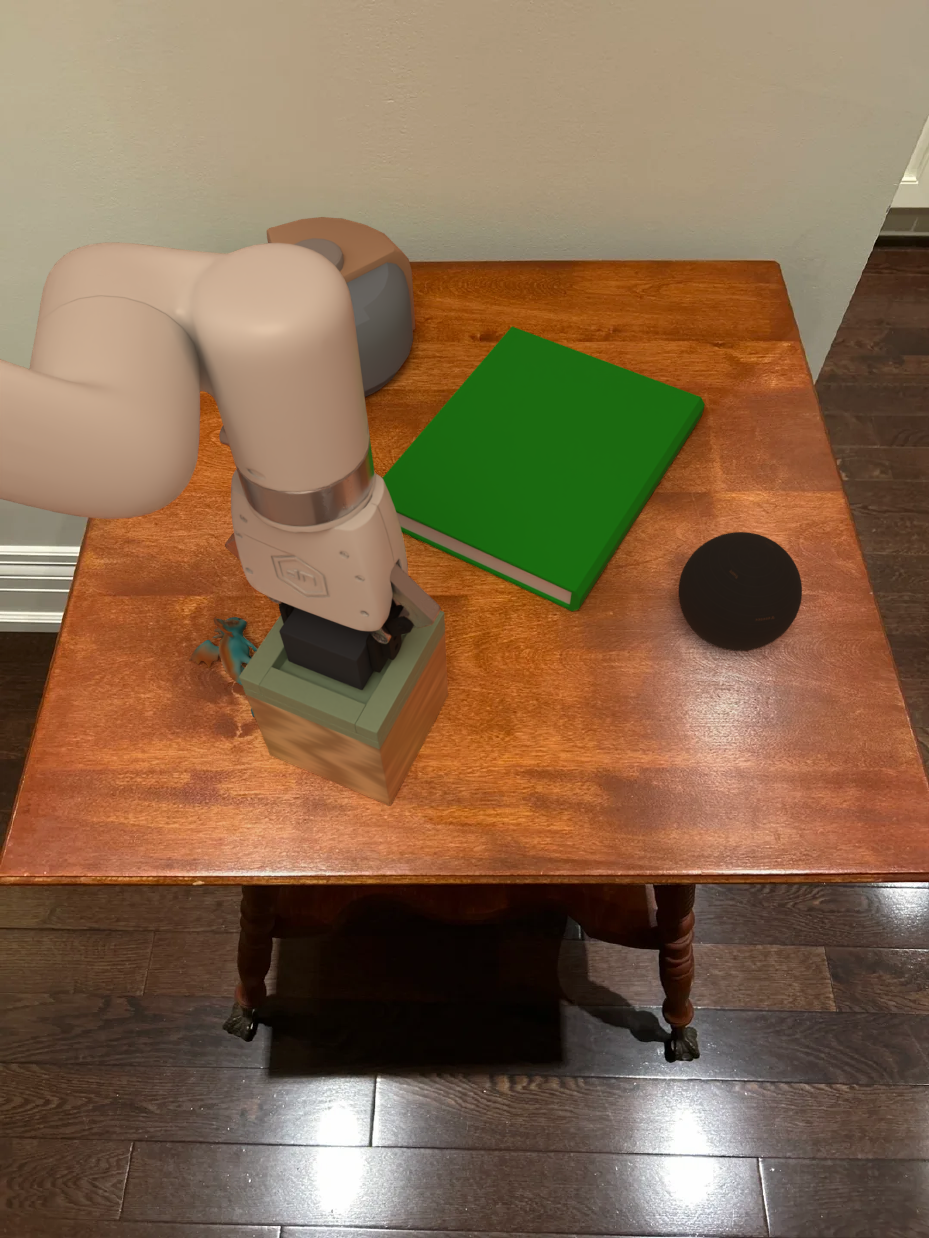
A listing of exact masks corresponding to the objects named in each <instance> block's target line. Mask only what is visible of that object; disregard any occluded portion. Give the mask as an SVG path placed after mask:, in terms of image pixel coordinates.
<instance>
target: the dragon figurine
mask: <svg viewBox="0 0 929 1238" xmlns="http://www.w3.org/2000/svg"><path fill="white" fill-rule="evenodd" d="M213 623H214V625H215V626H216V628H214V633H216V634H214V636H212V638H213V639H215V640H216V639H220V640H219V643H218V644H219V645H216V644H213V642H212V640H210V639H206V640H204V641H203V642H202V643H200V644H199V645H198V646H197V647H196V648H195V649H194V651H193V653H192V654H191V655H190V657H189V660H188V661H193V662H194V663H195V664H196V665H197V666H199V665H200V663H201V662H202V661H203V662H204V663H205V664H206V665H207V667H208V668H209V669H211V665H212V662H214V661H216V662H218V661H219V658H220V660H221V665H222V667H223V669H224V672H225V673H226V674H227V675H228V676H229V677H230V679H232V680H233V681H234V682H236V683H237V684H239V686H242V683H241V681H240V678H239V676H240V675H241V673H242V672H243V670H244V669H245V666H243V664H246V665H247V664H248V663H249V661H250V660H251V658H252V657H253V656H252V655H251V654H250V652H251V651H250V648H251V649H252V651H253V652H254V653H255V652H256V651H257V649H258V647H256V646H255V645H254V644H253V642H251V641H250V640H249V639H247V638H246V636H244V633H245V631H246V629H247V627H248V621H247V620H246V619H243V618H241V617H238V616H232V617H228V618H227V619H221V618H217V616H214V618H213ZM250 713H251V715H252V717H253V718H255V716H254V713H253V711H252V708H251V707H250Z"/></svg>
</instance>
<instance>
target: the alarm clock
mask: <svg viewBox="0 0 929 1238" xmlns="http://www.w3.org/2000/svg"><path fill="white" fill-rule="evenodd" d="M266 239H267V243H285V244H292V245H297V246H302V247H305V248H308V249H311V250H313V251H315V252H317V253H319V254H321V255H323V256H324V257H325V258H326V259H328V260H329V261H330V262H331V263H332V264H334V265H335V266H336V268H337V269H338V270H339V272H340V273H341V274H342V276H343V277H344V279H345V282H346V284H347V286H348V288H349V291H350V296H351V301H352V306H353V312H354V320H355V328H356V335H357V343H358V351H359V359H360V366H361V374H362V382H363V389H364V397H365V398H366V397H368V396H370V395H372V394H375V393H377V392H378V391H380V390H381V389H382V388H383V387H385V386H386V385H387V384H388V383H389V382H390V381H392V380H393V378H394V377H395V376H396V374H397V373H398V371H399V370H401V367H402V366H403V365H404V363H405V362H406V360H407V358H408V357H409V355H410V353H411V349H412V345H413V342H414V330H415V329H416V316H415V301H414V284H413V270H412V267H411V264H410V263H411V262H410V259H409V257H408V256H407V255H406V254H405V253H404V252H403V250H401V248H399V246H398V245H397V244H395V242H394V241H392V239H391V238H390V237H388V235H386V234H385V232H383V231H380V230H378V229H376V228H374V227H372V226H369V225H368V224H364V223H361V222H357V221H353V220H350V219H346V218H343V217H326V216H317V217H309V218H300V219H297V220H294V221H289V222H287V223H283V224H279V225H274V226H271V227H269V228H267V229H266Z"/></svg>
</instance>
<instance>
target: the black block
mask: <svg viewBox="0 0 929 1238" xmlns="http://www.w3.org/2000/svg"><path fill="white" fill-rule="evenodd" d="M279 632H280V635H281V639H282V642H283V645H284V648H285V651H286V654H287V658H288V661H289V662H291V663H294V664H297V665H299V666H302V667H304V668H307V669H309V670H312V671H314V672H317V673H319V674H322V675H324V676H327V677H329V678H332V679H334V680H337V681H340V682H342V683H345V684H347V685H350V686H352V687H355V688H357V689H360V690H363V689H364V687H365V685H366V683H367V682H368V680H369V678H370V677H371V675H372V673H373V670H372V668H371V665H370V660H369V654H368V649H367V645H366V639H367V637H368V635H369V634H370V632H369V631H361V630H356V629H353V628H350V627H347V626H344V625H341V624H339V623H336V622H333V621H331V620H328V619H325V618H322V617H320V616H317V615H314V614H312V613H309V612H307V611H304V610H301V609H299V608H296V607H295V608H294V610H293V611H292V613H291V614H290V615H289V617H288V618H287V620H286V621H285V623H284V624H283V626H282V627H281V629H280V631H279Z"/></svg>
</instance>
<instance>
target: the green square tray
mask: <svg viewBox="0 0 929 1238" xmlns="http://www.w3.org/2000/svg"><path fill="white" fill-rule="evenodd" d="M282 626H283V620H282V617H281V614H280V615H279V617H278V618H277V620H275V623H274V624H273V625H272V627H271V628H270V630H269V631H268V632H267V634H266V636H265V638H264V639H263V641H262V642H261V643H260V645H259V646H258V647H257V651H255V652H254V654H253V656H251V657H252V658H251V660H250V661H249V663H248V664H247V663H246V666H244V668H245V669H244V670H243V672H241V675H240V676H239V678H240V681H241V683H242V685H241V686H242V689H243V691H244V694H245V696H246V695H249V696H251V697H253V698H256V699H258V700H261V701H263V702H266V703H268V704H270V705H273V706H275V707H278V708H280V709H283V710H285V711H288V712H290V713H292V714H295V715H297V716H300V717H302V718H305V719H307V720H309V721H312V722H314V723H317V724H319V725H322V726H324V727H326V728H329V729H331V730H334V731H336V732H339V733H341V734H343V735H346V736H348V737H351V738H353V739H356V740H358V741H360V742H363V743H365V744H368V745H370V746H373V747H375V748H377V749H380V748H381V746H382V744H383V743H384V741H385V739H386V737H387V735H388V733H389V732H390V730H391V728H392V726H393V724H394V723H395V721H396V719H397V717H398V715H399V713H400V712H401V710H402V708H403V706H404V704H405V703H406V701H407V699H408V697H409V695H410V693H411V692H412V690H413V688H414V686H415V684H416V683H417V681H418V679H419V677H420V675H421V674H422V672H423V670H424V668H425V666H426V664H427V663H428V661H429V659H430V657H431V655H432V654H433V652H434V650H435V648H436V646H437V644H438V643H439V641H440V639H441V637H442V635H443V634H444V632H445V633H446V620H445V612H444V611H443V610H442V609H441V610H440V612H439V614H438V616H437V617H436V619H435V621H434V623H433V624H432V625H430V626H426V627H422V628H418V629H417V628H412V630H411V632H409V633H406V634H402V635H401V638H402V645H401V648H400V651H399V653H398V654H397V656H396V658H395V659H394V660H391V659H388V660H387V662H386V664H385V665H384V667H383V669H382V671H381V672H380V673H379V672H376V671H373V673H372V675H371V677H370V678H369V680H368V682H367V683H366V685H365V687H364V689H363V690H360V689H357V688H355V687H352V686H350V685H347V684H345V683H342V682H340V681H337V680H334V679H332V678H329V677H327V676H324V675H322V674H319V673H317V672H314V671H312V670H309V669H307V668H304V667H302V666H299V665H297V664H294V663H291V662H289V661H288V658H287V654H286V651H285V648H284V645H283V642H282V639H281V635H280V632H279V631H280V629H281V627H282Z"/></svg>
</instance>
